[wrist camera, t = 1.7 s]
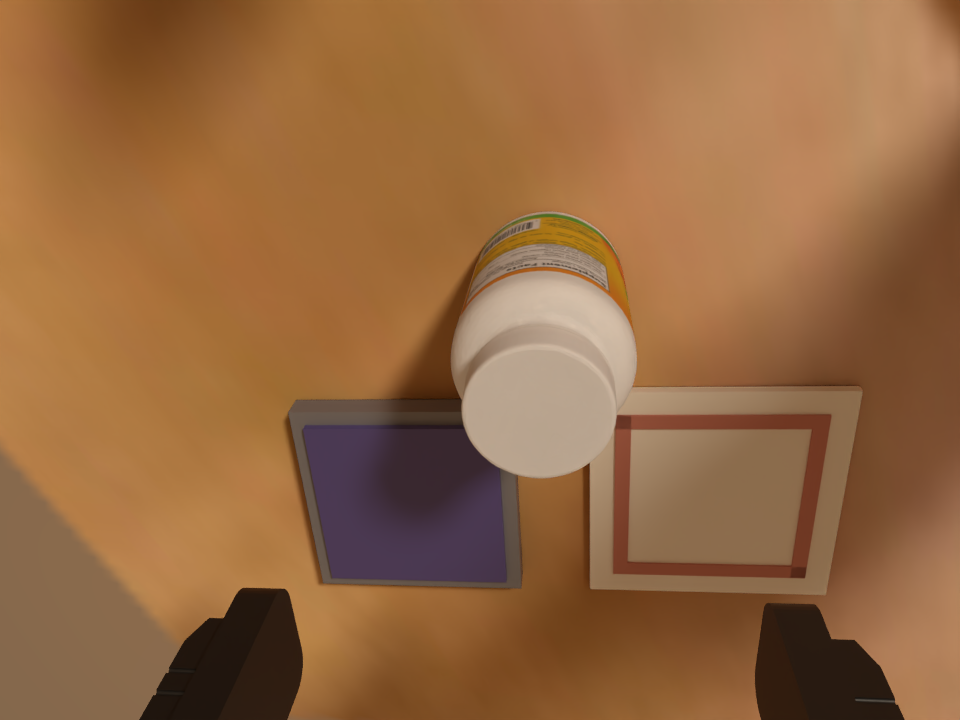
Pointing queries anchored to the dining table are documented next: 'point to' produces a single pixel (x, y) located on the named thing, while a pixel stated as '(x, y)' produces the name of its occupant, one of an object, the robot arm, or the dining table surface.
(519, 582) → the ink pad
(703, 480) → the marked card
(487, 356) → the supplement bottle
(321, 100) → the dining table surface
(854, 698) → the robot arm
